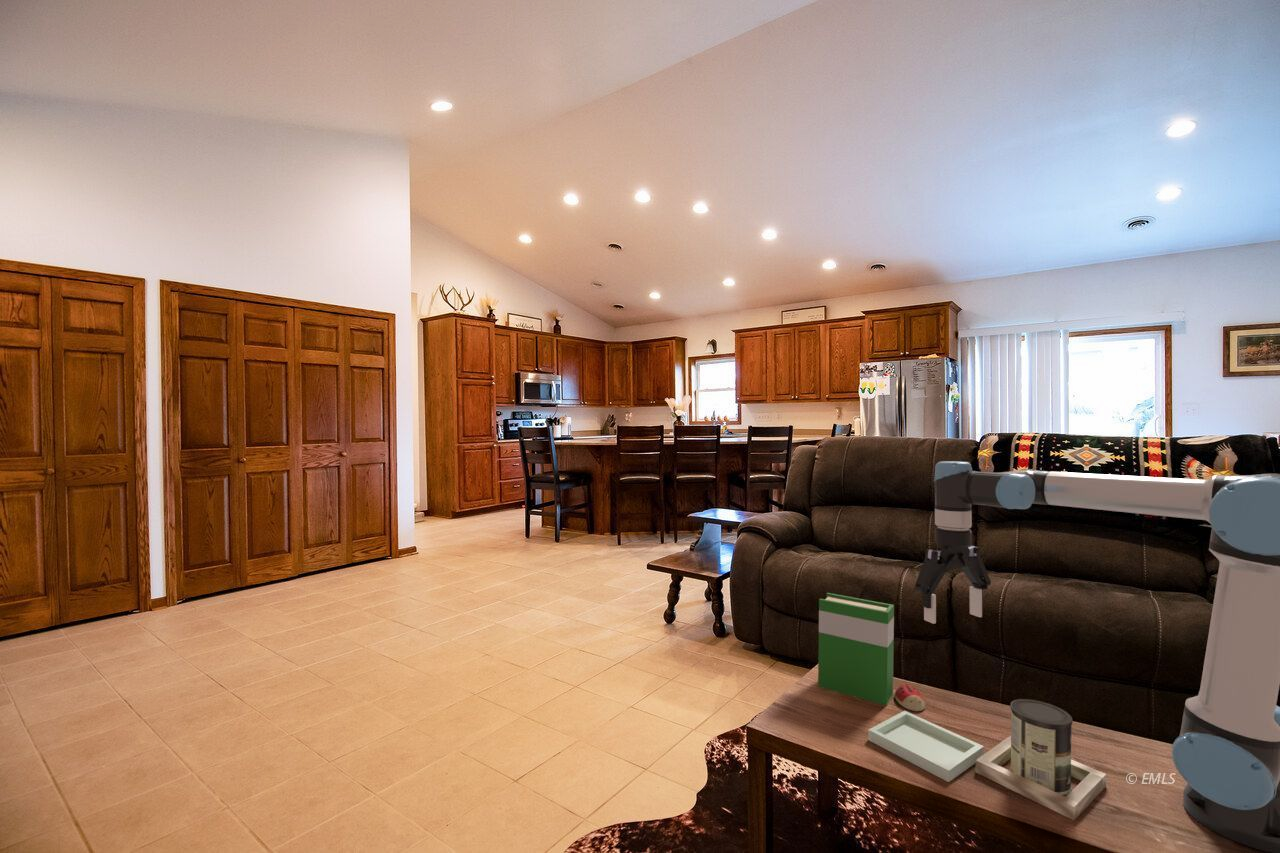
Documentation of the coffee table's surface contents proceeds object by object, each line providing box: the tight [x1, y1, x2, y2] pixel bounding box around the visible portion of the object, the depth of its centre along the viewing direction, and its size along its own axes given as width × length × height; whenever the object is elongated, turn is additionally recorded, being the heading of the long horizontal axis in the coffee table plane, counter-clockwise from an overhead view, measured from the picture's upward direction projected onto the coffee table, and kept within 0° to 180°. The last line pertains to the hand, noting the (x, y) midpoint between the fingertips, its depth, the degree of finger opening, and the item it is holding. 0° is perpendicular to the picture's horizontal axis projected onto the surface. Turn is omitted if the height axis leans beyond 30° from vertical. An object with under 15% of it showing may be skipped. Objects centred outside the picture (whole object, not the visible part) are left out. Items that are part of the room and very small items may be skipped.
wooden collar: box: [975, 734, 1107, 821], centre depth 114 cm, size 17×17×2 cm
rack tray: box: [867, 710, 985, 783], centre depth 125 cm, size 18×15×2 cm
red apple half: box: [894, 684, 926, 712], centre depth 145 cm, size 7×10×4 cm
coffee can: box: [1009, 698, 1073, 796], centre depth 114 cm, size 10×10×14 cm
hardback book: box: [817, 592, 895, 707], centre depth 152 cm, size 18×7×24 cm, turn 55°
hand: (953, 618), depth 131 cm, fingers open, 13 cm apart
